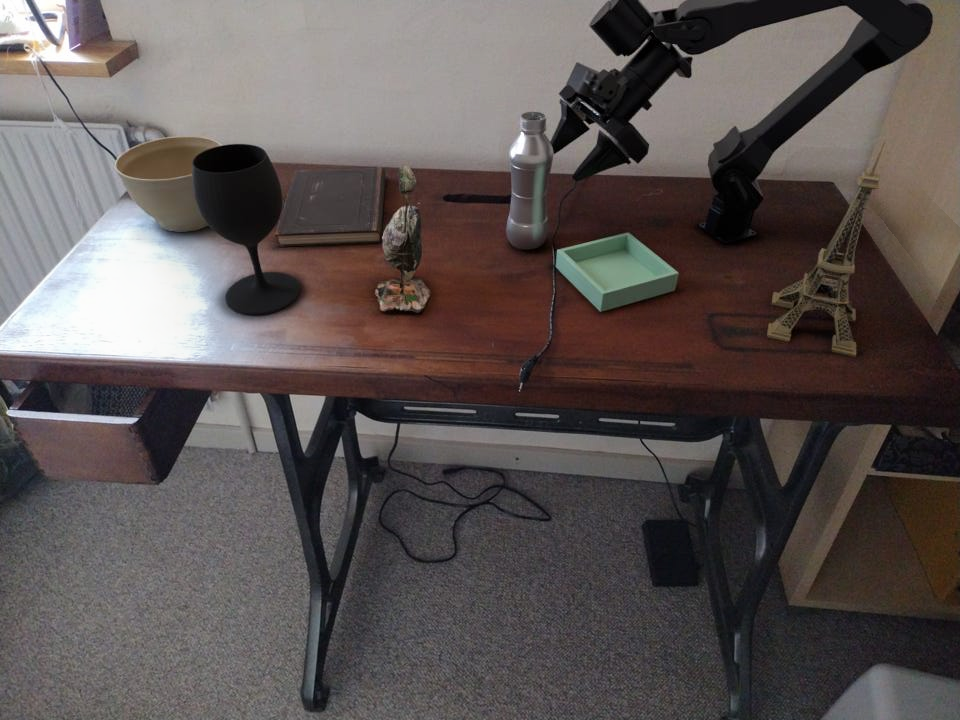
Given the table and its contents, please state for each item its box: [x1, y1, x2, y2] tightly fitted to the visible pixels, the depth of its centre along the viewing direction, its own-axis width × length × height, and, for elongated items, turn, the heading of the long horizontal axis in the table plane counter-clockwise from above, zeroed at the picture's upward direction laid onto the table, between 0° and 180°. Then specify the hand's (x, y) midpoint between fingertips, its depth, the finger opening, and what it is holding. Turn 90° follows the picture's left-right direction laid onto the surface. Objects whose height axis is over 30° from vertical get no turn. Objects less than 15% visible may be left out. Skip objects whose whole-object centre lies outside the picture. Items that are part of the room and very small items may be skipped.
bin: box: [555, 232, 680, 313], centre depth 96 cm, size 12×12×3 cm
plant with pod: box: [374, 164, 431, 314], centre depth 88 cm, size 8×11×20 cm
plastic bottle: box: [505, 110, 555, 251], centre depth 98 cm, size 6×7×20 cm
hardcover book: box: [274, 166, 386, 248], centre depth 112 cm, size 16×23×2 cm
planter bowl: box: [114, 135, 223, 233], centre depth 107 cm, size 16×16×11 cm
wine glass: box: [192, 143, 302, 317], centre depth 88 cm, size 10×10×20 cm
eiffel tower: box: [766, 139, 886, 358], centre depth 81 cm, size 11×11×25 cm
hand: (560, 166), depth 98 cm, fingers open, 9 cm apart
